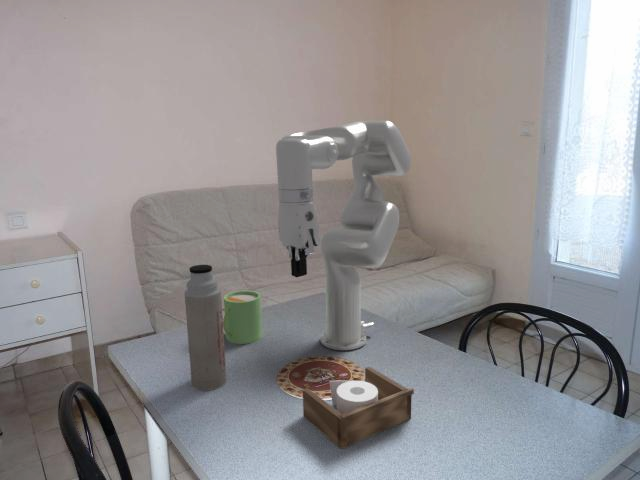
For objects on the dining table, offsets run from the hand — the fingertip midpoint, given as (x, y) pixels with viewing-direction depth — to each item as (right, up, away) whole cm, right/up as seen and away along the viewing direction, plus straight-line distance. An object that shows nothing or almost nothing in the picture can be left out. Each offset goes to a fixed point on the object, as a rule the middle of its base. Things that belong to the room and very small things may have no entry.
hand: (299, 275), depth 116 cm
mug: (-18, -20, +27) cm, 38 cm away
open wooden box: (+12, -28, -12) cm, 33 cm away
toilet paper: (+12, -28, -12) cm, 33 cm away
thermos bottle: (-21, -25, +3) cm, 33 cm away
